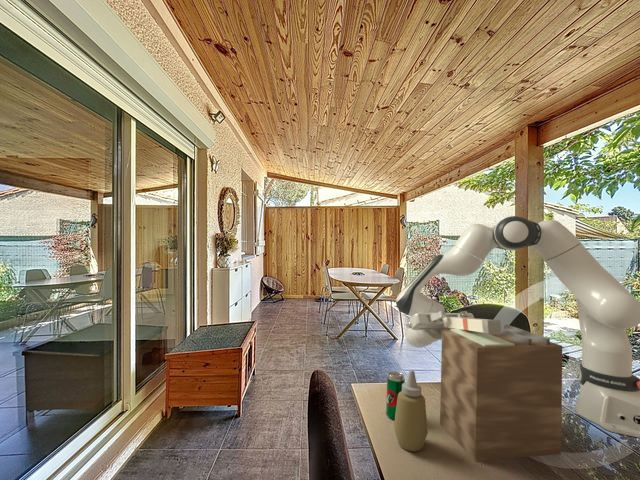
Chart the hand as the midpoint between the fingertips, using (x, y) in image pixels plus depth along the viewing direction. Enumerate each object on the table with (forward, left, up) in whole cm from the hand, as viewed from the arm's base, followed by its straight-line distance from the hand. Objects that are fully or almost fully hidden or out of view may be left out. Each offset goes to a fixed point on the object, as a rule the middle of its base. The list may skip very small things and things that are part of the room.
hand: (454, 313), depth 92 cm
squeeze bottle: (+5, +22, -30) cm, 37 cm away
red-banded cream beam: (-4, +4, -3) cm, 7 cm away
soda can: (+13, +12, -30) cm, 35 cm away
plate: (-8, +8, -4) cm, 12 cm away
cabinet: (-12, +5, -30) cm, 32 cm away
